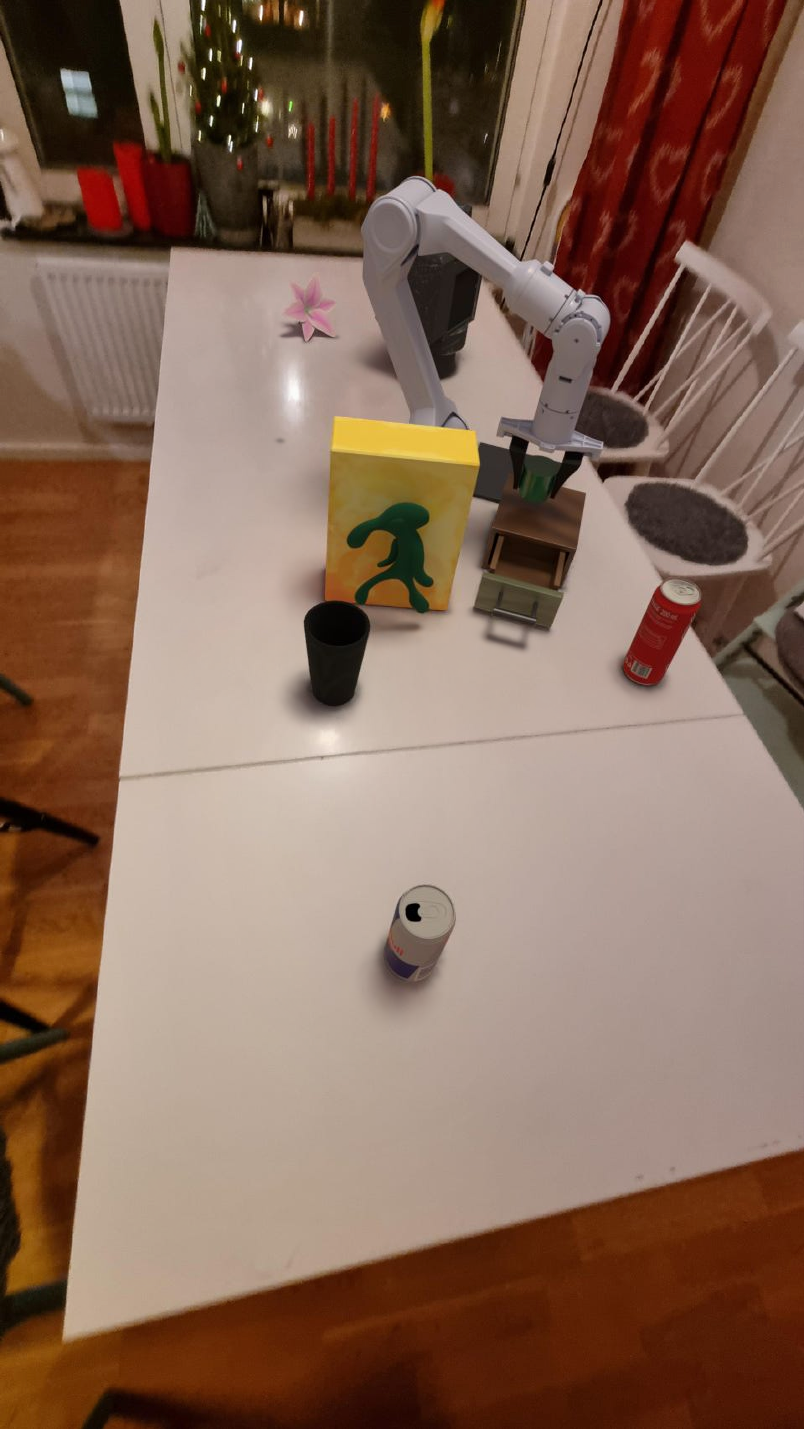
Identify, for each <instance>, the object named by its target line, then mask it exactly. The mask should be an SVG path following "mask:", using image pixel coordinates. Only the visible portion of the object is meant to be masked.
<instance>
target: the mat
mask: <svg viewBox="0 0 804 1429" xmlns="http://www.w3.org/2000/svg"><path fill="white" fill-rule="evenodd" d="M478 453H479V461H480V467H479V471H478V476H477V480H476V484H475V489H474V493H473V497H474V498H478V499H481V500H486V501H490V502H494V503H498V504H499V502H500V499H501V496H502V493H503V489H504V486H505V483H506V479H507V476H508V473H510V474H514V473H513V465H512V460H511V456H510V453H509V448H505V447H502V446H497V445H493V444H490V443H486V442H482V441H480V442H479V445H478ZM529 456H533V454H530V453H526V455H525V459H526V458H527V457H529ZM525 459H524V460H525ZM554 461H555V462H556V463H557V464H558V466H559V469H560V466H561V463H562V461H561V462H560V461H556V460H554ZM523 464H524V463H523ZM523 468H524V466H523ZM522 472H523V469H522ZM521 475H522V474H521ZM556 477H557V476H556ZM556 477H555V479H556ZM554 481H555V480H554ZM553 484H554V483H553Z"/></svg>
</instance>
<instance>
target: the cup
mask: <svg viewBox="0 0 804 1429" xmlns="http://www.w3.org/2000/svg"><path fill="white" fill-rule="evenodd" d="M371 626H372V625H371V620H370V617H369V616H368V615H367V613H366V612H365V611H364V610H363V609H362V608H361V607H359V605H356V604H355V603H349V602H345V601H337V600H334V601H326V600H325V601H322V602H319V603H318V604H315V605H314V606H313V607H311V608H310V609H308V611H307V612H306V614H305V615H304V619H303V631H304V638H305V647H306V655H307V664H308V671H309V678H310V679H309V680H310V689H311V693H312V695H313V697H314V698H315V700H316V701H318V702H319V703H321V705H322V704H323V705H325V706H328V707H339V706H340V707H341V706H343V705H346V704H347V703H350V701H351V700H352V699H353V698H354V696H355V694H356V690H357V685H358V680H359V676H360V672H361V668H362V665H363V661H364V656H365V652H366V649H367V644H368V640H369V636H370V633H371V628H372V627H371Z"/></svg>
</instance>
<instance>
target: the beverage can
mask: <svg viewBox="0 0 804 1429" xmlns="http://www.w3.org/2000/svg"><path fill="white" fill-rule="evenodd" d="M701 603H702V591H701V589H700V588H699V586H698V585H697V584H695V583H694V582H693V581H691V580H689V579H686V578H683V577H678V576H677V577H676V576H675V577H673V576H672V577H668V578H666V579H664V580H663V581H662V582H661V583H660V584H659V585H658V586H657V587H655V590H654V591H653V594H652V596H651V599H650V600H649V603H648V605H647V607H646V609H645V612H644V614H643V616H642V619H641V620H640V624H639V625H638V628H637V630H636V632H635V635H634V637H633V639H632V641H631V643H630V646H629V648H628V650H627V653H626V655H625V657H624V659H623V662H622V668H623V672H624V673H625V675H626V677H627V678H628V679H630V680H631V681H633V682H635V683H637V684H640V685H644V686H652V685H656V684H658V683H659V682H661V681H662V680H663V679H664V677H665V675H666V674H667V671H668V669H669V668H670V665H671V663H672V661H673V659H674V658H675V656H676V654H677V652H678V650H679V648H680V647H681V644H682V643H683V641H684V638H685V637H686V634H687V632H688V630H689V629H690V627H691V626H692V623H693V621H694V619H695V617H696V615H697V613H698V612H699V610H700V608H701Z"/></svg>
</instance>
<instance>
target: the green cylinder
mask: <svg viewBox="0 0 804 1429" xmlns="http://www.w3.org/2000/svg"><path fill="white" fill-rule="evenodd" d="M532 455H533V454H532ZM555 461H556V460H554V459H552V458H551V457H549V456H546V455H540V454H534V455H533V456H529V457H527V458H526V459H525V460H524V464H523V466H524V468H523V472H522V475H521V479H520V482H519V486H518V489H517V490H518V494H519V495H520V496H521V497H522V498H523V499H525V500H527V501H530V502H534V503H541V502H544V501H546V500H547V499H548V498H549V495H550V492H551V489H552V486H553V483H554V480H555V477H556V476H557V475H558V473H559V466H558V464H557V463H556V462H555Z"/></svg>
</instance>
